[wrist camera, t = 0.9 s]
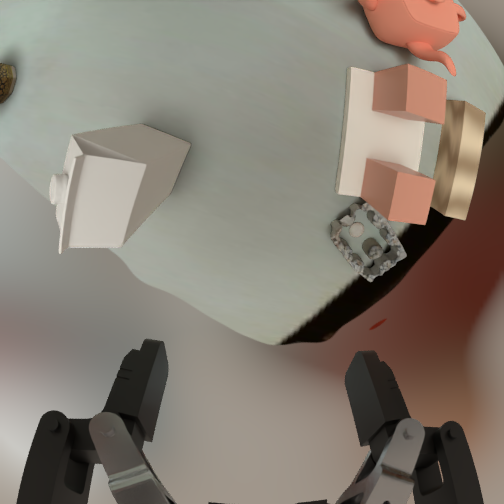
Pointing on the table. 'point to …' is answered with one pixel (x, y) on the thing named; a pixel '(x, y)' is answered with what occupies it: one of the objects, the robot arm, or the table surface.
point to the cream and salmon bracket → (389, 139)
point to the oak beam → (458, 158)
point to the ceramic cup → (6, 81)
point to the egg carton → (368, 242)
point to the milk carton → (113, 183)
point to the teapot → (416, 25)
